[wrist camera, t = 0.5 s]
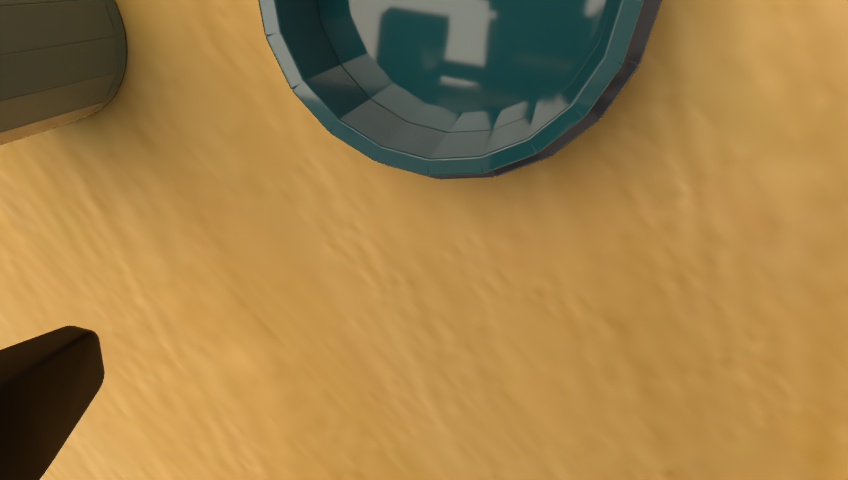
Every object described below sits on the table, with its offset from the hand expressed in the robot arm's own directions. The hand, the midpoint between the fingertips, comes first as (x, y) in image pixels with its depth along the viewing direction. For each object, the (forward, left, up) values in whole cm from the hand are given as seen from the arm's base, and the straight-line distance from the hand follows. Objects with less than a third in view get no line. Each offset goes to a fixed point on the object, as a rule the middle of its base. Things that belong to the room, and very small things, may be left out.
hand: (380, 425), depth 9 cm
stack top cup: (+5, +2, -14) cm, 15 cm away
